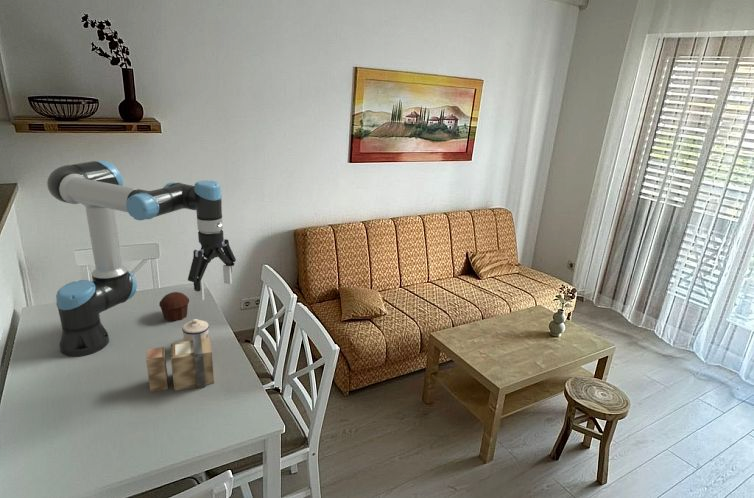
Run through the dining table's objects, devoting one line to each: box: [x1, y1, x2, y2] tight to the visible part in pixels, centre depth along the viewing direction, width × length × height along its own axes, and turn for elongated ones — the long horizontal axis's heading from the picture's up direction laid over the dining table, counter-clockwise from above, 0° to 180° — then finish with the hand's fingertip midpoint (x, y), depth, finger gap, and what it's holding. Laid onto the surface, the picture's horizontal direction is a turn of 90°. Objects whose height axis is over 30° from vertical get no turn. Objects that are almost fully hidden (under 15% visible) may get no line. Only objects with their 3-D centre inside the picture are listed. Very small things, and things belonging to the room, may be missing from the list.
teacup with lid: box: [181, 318, 210, 342], centre depth 167 cm, size 12×9×12 cm
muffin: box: [159, 291, 190, 322], centre depth 187 cm, size 12×11×10 cm
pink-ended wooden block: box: [145, 346, 169, 393], centre depth 145 cm, size 5×6×12 cm
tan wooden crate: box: [170, 334, 215, 391], centre depth 149 cm, size 12×12×13 cm
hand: (214, 290), depth 151 cm, fingers open, 13 cm apart
